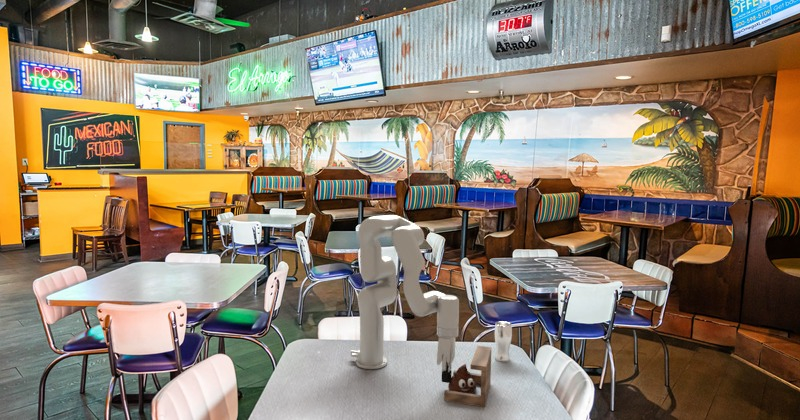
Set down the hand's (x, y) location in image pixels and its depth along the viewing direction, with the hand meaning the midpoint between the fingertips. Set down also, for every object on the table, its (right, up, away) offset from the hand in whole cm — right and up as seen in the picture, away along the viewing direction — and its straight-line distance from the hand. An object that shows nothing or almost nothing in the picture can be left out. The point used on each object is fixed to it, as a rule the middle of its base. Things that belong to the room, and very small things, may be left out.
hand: (446, 381), depth 157 cm
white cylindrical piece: (+26, -2, +28) cm, 38 cm away
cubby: (+7, -3, -2) cm, 8 cm away
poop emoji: (+6, -3, -1) cm, 6 cm away
